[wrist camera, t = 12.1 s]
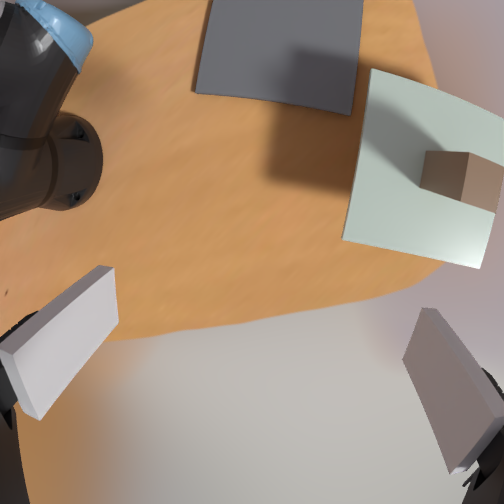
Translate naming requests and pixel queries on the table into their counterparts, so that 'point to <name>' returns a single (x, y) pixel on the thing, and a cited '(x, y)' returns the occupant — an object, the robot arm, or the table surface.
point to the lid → (425, 172)
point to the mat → (283, 52)
